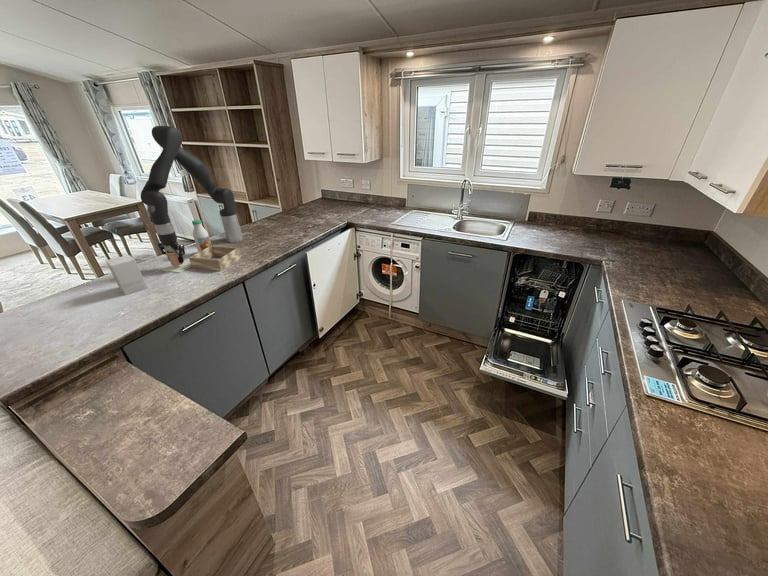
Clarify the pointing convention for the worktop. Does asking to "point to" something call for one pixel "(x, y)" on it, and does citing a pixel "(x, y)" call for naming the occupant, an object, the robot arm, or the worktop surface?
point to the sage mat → (177, 267)
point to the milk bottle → (200, 236)
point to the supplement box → (127, 274)
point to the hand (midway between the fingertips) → (176, 261)
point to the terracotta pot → (173, 257)
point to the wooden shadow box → (204, 261)
